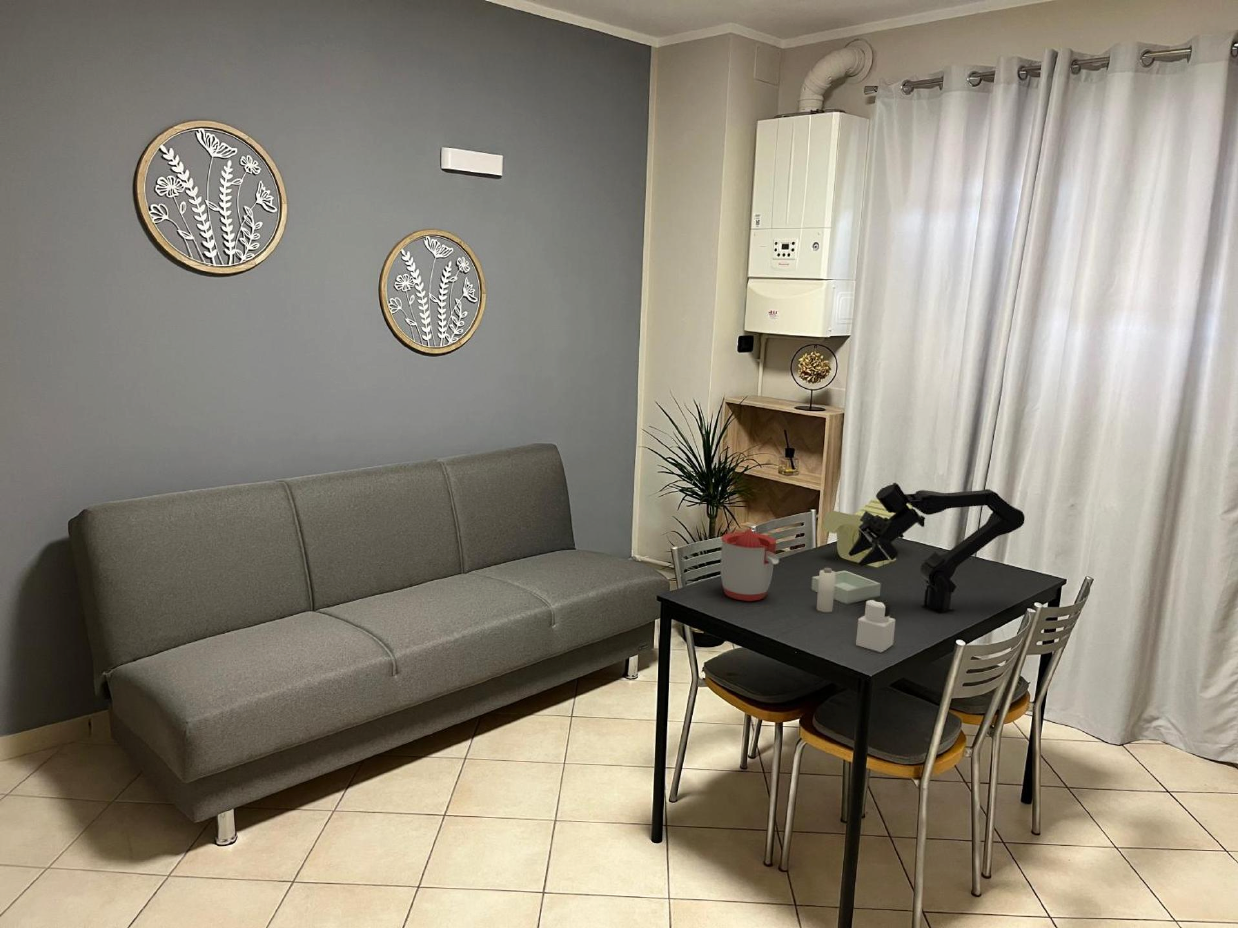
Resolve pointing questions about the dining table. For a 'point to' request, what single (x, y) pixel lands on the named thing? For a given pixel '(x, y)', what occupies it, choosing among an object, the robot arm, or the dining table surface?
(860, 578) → the walled box
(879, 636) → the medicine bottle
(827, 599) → the grey-capped cream cylinder
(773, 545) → the citrus juicer
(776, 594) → the dining table surface
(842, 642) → the dining table surface
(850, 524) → the slatted curved stool
